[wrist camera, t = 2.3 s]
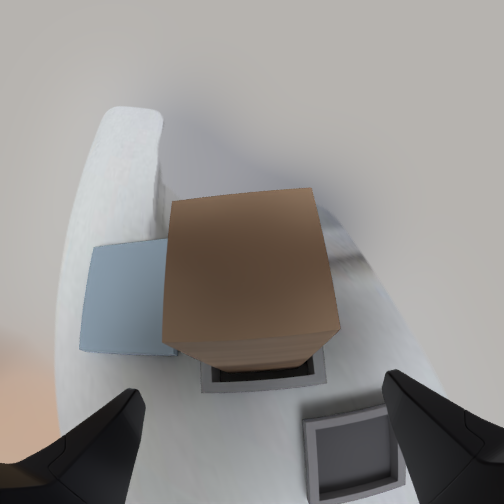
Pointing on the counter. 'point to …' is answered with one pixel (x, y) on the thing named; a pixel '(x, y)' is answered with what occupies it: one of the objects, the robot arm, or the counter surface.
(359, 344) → the counter surface
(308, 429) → the tray
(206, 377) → the sleeve
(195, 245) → the walnut block
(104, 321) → the pad
